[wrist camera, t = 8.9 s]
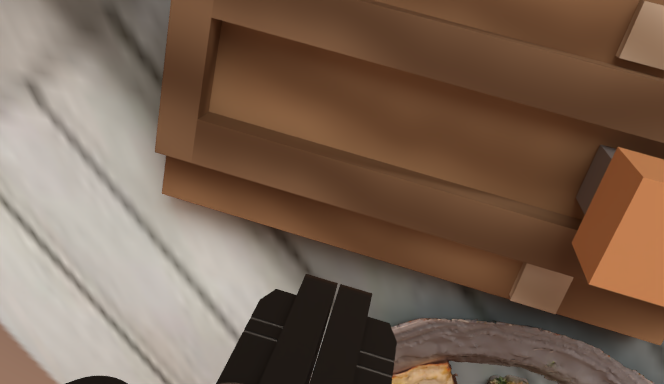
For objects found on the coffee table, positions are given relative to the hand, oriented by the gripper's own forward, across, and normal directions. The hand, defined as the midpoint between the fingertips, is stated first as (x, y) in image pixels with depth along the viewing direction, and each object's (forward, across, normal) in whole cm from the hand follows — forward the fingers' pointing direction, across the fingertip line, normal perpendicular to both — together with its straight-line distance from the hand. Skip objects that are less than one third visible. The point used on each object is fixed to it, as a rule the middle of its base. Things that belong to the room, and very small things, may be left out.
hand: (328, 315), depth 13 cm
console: (+19, -3, 0) cm, 19 cm away
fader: (+17, -11, 0) cm, 20 cm away
